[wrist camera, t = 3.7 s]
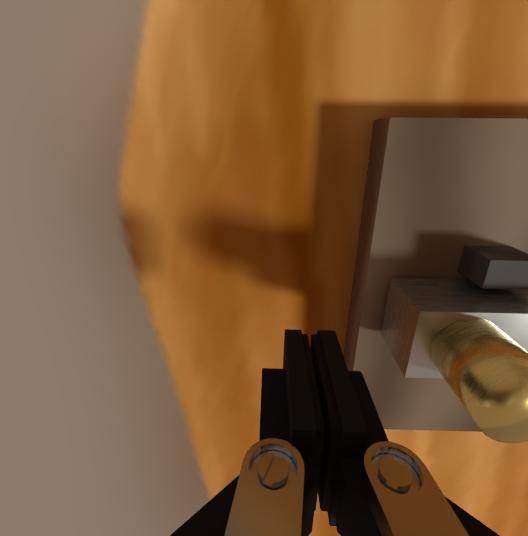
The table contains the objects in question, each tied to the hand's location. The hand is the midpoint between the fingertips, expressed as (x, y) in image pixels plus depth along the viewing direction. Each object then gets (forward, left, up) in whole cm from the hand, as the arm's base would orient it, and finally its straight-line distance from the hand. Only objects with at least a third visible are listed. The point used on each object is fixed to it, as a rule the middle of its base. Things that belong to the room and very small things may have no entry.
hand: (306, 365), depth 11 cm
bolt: (0, +10, -4) cm, 11 cm away
